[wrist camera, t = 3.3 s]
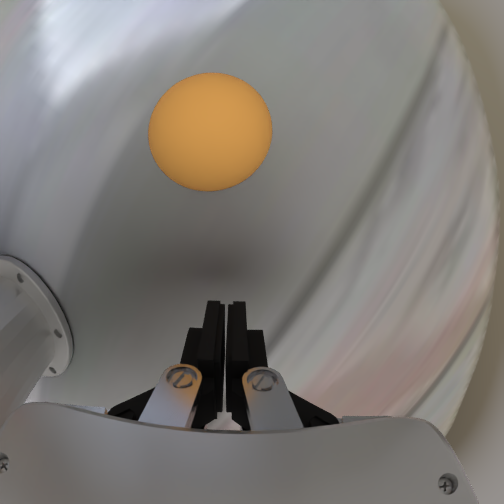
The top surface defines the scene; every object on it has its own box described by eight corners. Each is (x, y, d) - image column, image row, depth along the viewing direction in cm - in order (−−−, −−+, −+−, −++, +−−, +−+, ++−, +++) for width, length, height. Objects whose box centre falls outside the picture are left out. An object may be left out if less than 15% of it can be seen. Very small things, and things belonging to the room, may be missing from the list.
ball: (162, 186, 16) (129, 199, 10) (167, 92, 14) (137, 59, 8) (261, 187, 16) (279, 200, 11) (265, 93, 14) (285, 58, 9)
